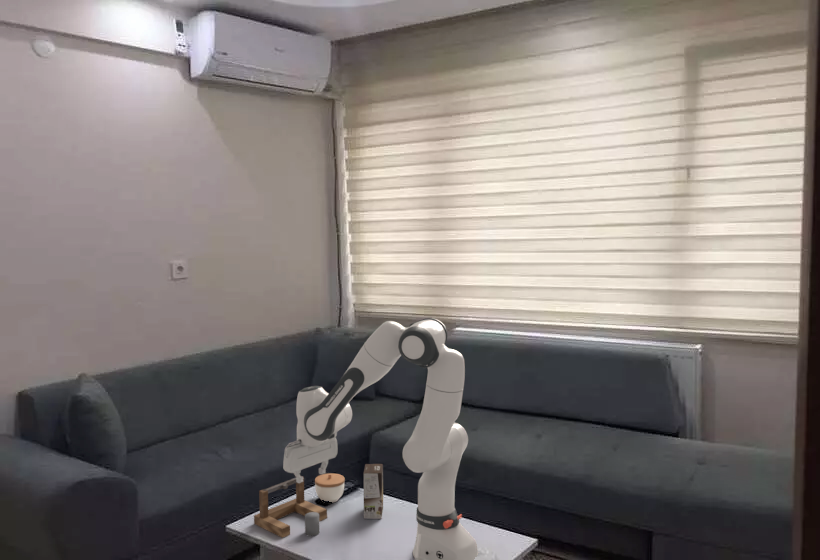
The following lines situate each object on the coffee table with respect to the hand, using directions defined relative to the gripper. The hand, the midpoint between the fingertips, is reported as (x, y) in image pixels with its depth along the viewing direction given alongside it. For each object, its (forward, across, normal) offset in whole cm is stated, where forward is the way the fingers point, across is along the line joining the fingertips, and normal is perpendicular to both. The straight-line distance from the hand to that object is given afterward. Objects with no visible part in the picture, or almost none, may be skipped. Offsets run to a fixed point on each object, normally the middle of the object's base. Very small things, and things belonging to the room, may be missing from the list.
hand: (311, 477), depth 221 cm
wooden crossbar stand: (+18, +1, +12) cm, 22 cm away
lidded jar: (+19, +22, +15) cm, 32 cm away
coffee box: (+19, +24, -5) cm, 30 cm away
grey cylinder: (+18, 0, 0) cm, 18 cm away
